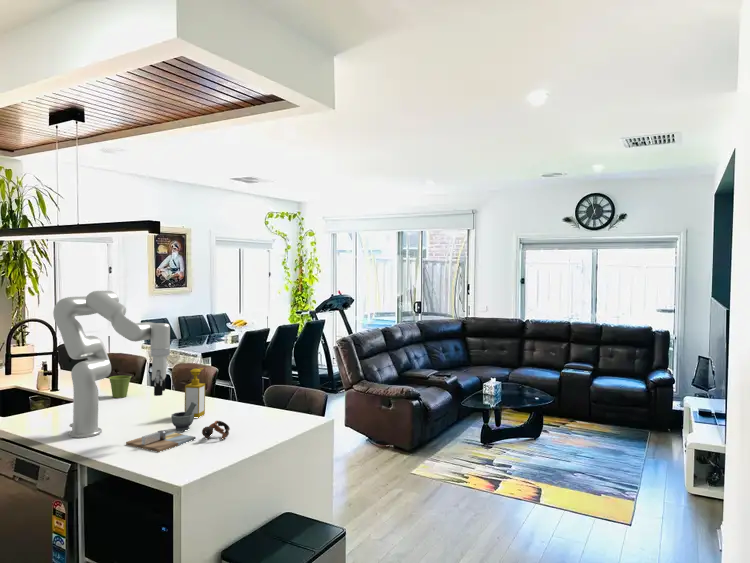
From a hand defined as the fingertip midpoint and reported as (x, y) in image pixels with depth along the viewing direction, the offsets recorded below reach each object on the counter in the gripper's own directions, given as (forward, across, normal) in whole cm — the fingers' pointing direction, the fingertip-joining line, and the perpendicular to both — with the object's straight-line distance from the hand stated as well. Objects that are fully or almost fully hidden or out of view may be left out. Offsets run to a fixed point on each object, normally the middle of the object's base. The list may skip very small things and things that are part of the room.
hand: (159, 393), depth 223 cm
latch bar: (+18, +7, -1) cm, 19 cm away
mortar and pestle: (+20, -14, +9) cm, 26 cm away
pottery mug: (+20, +3, +22) cm, 30 cm away
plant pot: (+19, -90, -31) cm, 98 cm away
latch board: (+20, +4, +1) cm, 20 cm away
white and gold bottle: (+20, -40, +13) cm, 46 cm away
